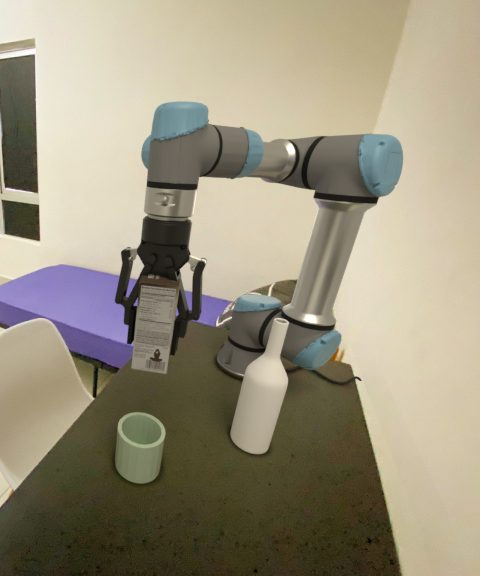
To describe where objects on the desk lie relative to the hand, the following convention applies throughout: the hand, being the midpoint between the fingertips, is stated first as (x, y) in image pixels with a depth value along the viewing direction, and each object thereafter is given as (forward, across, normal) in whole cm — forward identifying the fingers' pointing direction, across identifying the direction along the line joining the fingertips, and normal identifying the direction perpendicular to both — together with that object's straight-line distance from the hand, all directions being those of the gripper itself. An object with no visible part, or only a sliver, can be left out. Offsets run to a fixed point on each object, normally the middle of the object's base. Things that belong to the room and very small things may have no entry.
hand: (151, 346), depth 59 cm
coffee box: (+3, 0, 0) cm, 3 cm away
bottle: (+27, +21, +16) cm, 38 cm away
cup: (+27, 0, -1) cm, 27 cm away
